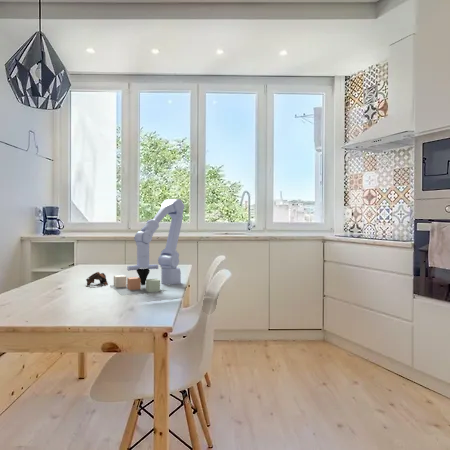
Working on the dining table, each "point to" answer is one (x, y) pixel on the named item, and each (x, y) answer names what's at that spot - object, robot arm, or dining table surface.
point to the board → (129, 292)
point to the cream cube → (120, 281)
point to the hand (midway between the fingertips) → (143, 284)
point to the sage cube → (152, 285)
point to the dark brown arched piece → (97, 278)
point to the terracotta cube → (133, 283)
